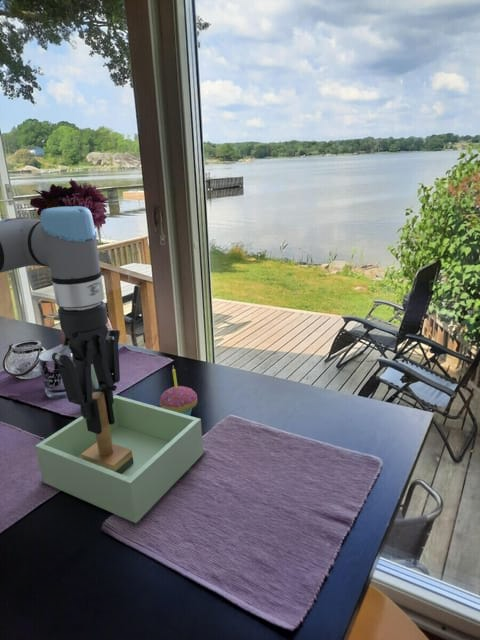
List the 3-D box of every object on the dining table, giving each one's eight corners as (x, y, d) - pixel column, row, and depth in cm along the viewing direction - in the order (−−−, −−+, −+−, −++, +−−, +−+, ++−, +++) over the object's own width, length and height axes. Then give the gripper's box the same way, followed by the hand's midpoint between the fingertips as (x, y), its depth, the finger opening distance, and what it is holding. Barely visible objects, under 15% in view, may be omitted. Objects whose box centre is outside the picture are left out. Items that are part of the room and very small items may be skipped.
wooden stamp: (83, 467, 83) (69, 397, 78) (102, 452, 87) (90, 384, 82) (115, 479, 79) (103, 406, 74) (133, 463, 83) (123, 393, 78)
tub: (43, 482, 81) (35, 445, 78) (119, 426, 97) (114, 394, 94) (136, 523, 71) (130, 483, 68) (203, 453, 87) (200, 418, 84)
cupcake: (156, 413, 102) (151, 366, 98) (190, 403, 105) (187, 358, 101) (168, 431, 95) (163, 382, 91) (204, 420, 98) (201, 372, 94)
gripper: (59, 322, 64) (83, 456, 72) (131, 293, 77) (145, 410, 85) (24, 315, 68) (52, 444, 76) (99, 289, 80) (116, 402, 88)
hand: (101, 426), depth 80 cm, fingers closed on wooden stamp, 3 cm apart
